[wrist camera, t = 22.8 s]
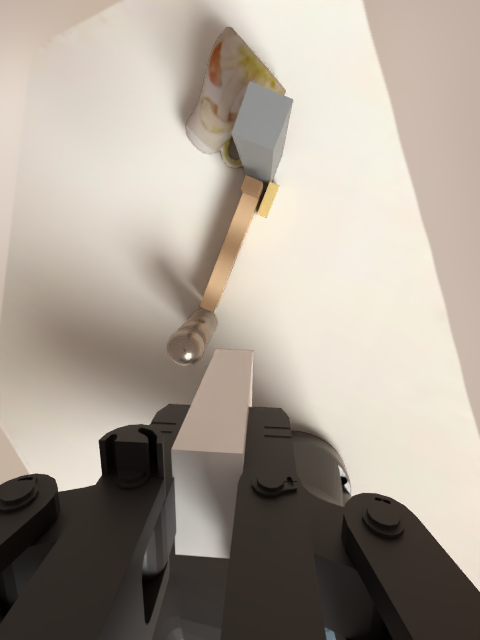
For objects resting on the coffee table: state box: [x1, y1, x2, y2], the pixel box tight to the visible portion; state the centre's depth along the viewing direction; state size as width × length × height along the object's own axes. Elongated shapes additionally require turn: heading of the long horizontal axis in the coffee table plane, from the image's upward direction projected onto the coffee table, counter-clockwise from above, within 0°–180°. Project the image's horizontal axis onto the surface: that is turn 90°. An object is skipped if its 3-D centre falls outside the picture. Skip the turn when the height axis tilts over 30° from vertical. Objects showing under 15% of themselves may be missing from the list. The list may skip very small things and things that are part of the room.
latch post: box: [231, 81, 293, 218], centre depth 28 cm, size 6×4×15 cm, turn 158°
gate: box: [200, 175, 263, 312], centre depth 34 cm, size 14×2×6 cm, turn 158°
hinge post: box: [167, 309, 217, 366], centre depth 34 cm, size 3×3×11 cm
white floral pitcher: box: [185, 27, 286, 168], centre depth 31 cm, size 8×10×10 cm
